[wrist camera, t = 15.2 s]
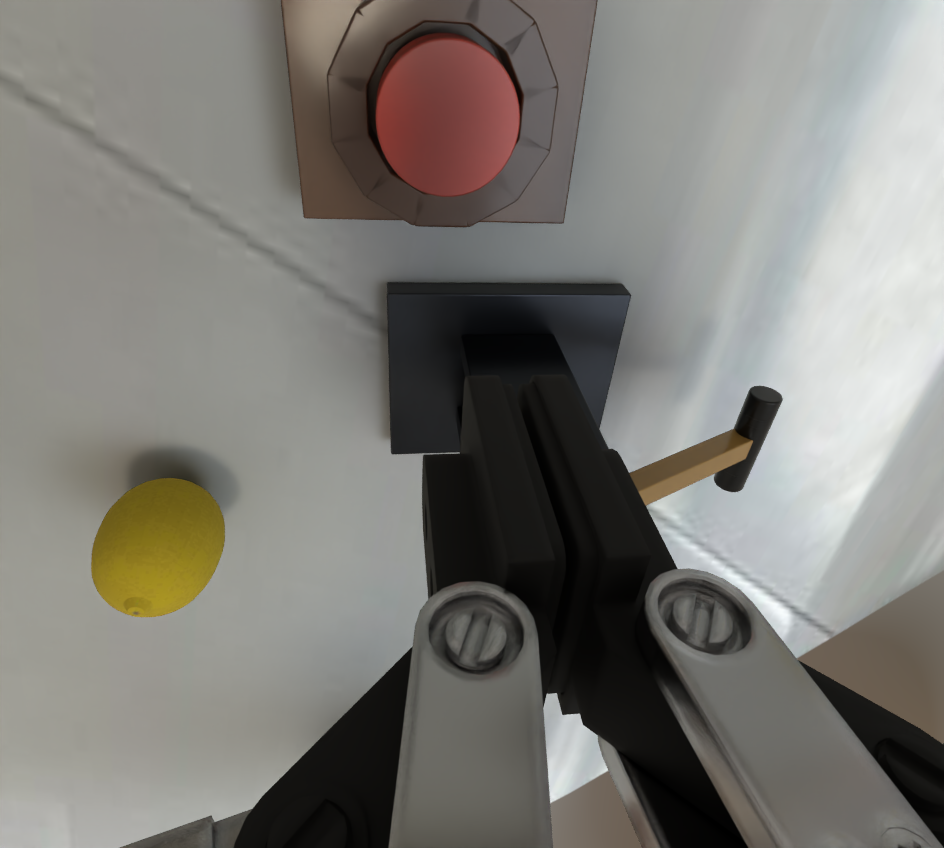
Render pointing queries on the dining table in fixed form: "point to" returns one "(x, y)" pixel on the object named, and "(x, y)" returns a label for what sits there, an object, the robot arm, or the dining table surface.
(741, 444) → the lever
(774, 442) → the dining table surface
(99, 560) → the lemon
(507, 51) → the button block
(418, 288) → the bracket
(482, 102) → the button
